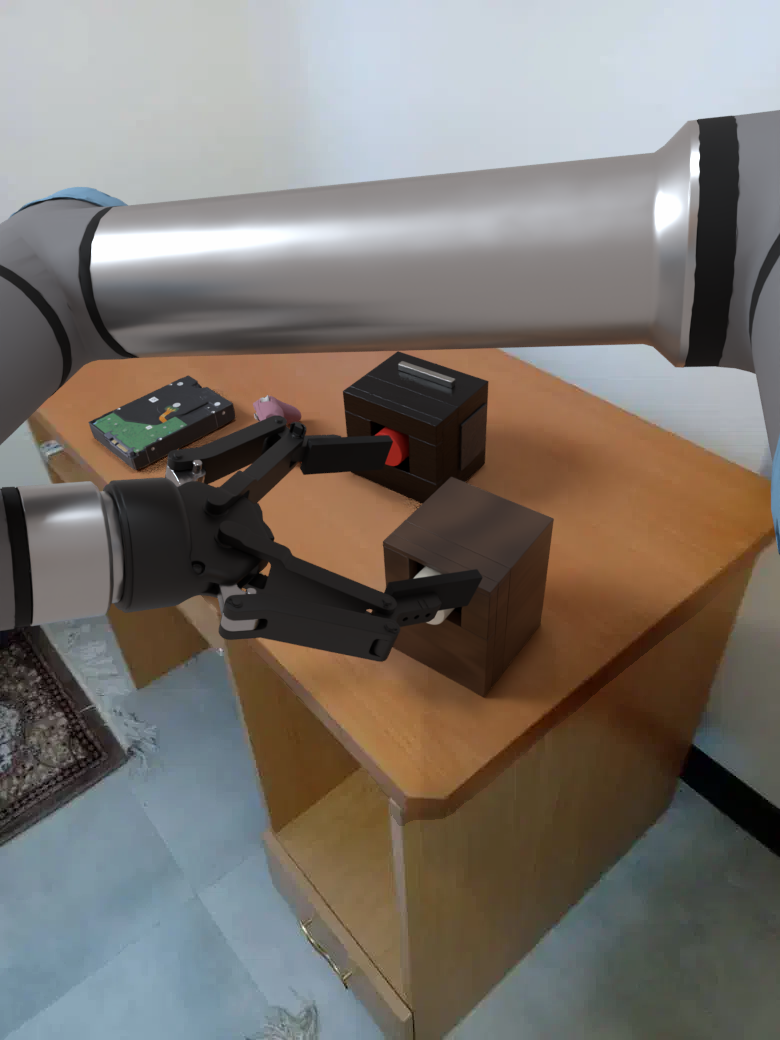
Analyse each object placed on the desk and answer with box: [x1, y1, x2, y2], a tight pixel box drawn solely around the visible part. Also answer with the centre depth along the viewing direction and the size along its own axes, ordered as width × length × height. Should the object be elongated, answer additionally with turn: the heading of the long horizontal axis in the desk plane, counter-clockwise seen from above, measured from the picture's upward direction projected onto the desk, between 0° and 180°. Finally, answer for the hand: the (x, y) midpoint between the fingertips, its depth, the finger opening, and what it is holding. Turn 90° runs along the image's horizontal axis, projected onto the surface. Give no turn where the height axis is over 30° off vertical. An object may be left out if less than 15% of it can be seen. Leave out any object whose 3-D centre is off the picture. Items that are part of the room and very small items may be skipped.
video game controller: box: [252, 394, 302, 425], centre depth 94 cm, size 10×5×7 cm, turn 17°
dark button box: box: [342, 351, 490, 505], centre depth 87 cm, size 12×10×12 cm
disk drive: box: [88, 375, 236, 471], centre depth 99 cm, size 10×3×15 cm
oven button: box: [375, 427, 409, 466], centre depth 85 cm, size 4×3×4 cm, turn 53°
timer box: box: [382, 477, 555, 698], centre depth 68 cm, size 10×10×13 cm
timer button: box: [413, 566, 454, 625], centre depth 63 cm, size 4×3×4 cm, turn 53°
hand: (426, 514), depth 55 cm, fingers open, 13 cm apart
